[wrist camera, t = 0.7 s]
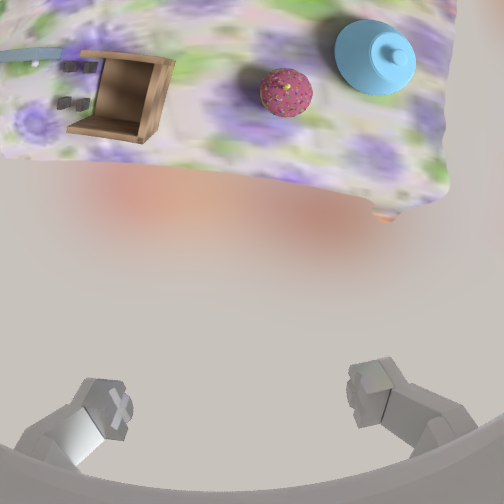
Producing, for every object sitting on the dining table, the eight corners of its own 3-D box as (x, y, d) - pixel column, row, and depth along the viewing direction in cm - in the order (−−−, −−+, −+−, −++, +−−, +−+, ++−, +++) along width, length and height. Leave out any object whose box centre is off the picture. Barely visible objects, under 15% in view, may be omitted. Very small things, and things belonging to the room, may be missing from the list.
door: (21, 65, 34) (-5, 69, 27) (25, 50, 32) (-2, 51, 25) (59, 65, 37) (33, 67, 29) (62, 48, 35) (37, 47, 28)
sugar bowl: (316, 34, 40) (340, 26, 30) (381, 14, 37) (415, 7, 27) (351, 105, 48) (380, 115, 38) (410, 80, 45) (446, 88, 35)
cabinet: (76, 51, 36) (46, 50, 27) (175, 61, 41) (163, 57, 32) (64, 116, 43) (34, 129, 34) (157, 130, 48) (142, 144, 38)
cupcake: (246, 89, 45) (253, 93, 35) (282, 59, 42) (300, 55, 33) (279, 123, 49) (295, 136, 39) (314, 94, 46) (338, 100, 37)
